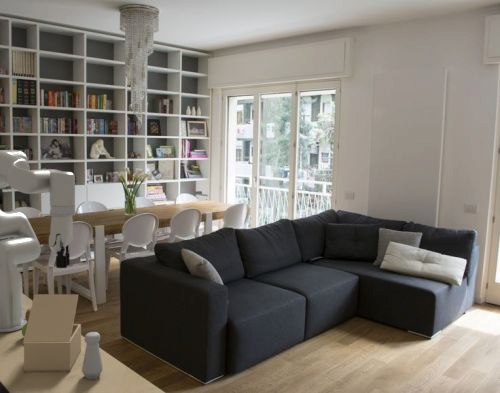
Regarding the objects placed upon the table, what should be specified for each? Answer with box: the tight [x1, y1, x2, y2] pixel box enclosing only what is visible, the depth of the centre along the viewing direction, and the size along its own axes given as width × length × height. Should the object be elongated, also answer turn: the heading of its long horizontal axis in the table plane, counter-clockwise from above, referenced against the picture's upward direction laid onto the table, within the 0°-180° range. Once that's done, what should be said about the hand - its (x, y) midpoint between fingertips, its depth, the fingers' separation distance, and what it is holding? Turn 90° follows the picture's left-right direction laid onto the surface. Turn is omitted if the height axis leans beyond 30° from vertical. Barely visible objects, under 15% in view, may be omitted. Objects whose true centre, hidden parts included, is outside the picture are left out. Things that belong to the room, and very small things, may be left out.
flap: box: [22, 293, 79, 343], centre depth 147 cm, size 15×13×1 cm
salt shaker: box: [81, 331, 104, 381], centre depth 141 cm, size 6×6×13 cm
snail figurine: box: [21, 300, 33, 337], centre depth 166 cm, size 5×6×12 cm
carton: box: [23, 323, 82, 373], centre depth 150 cm, size 14×13×9 cm
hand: (63, 265), depth 158 cm, fingers open, 2 cm apart
